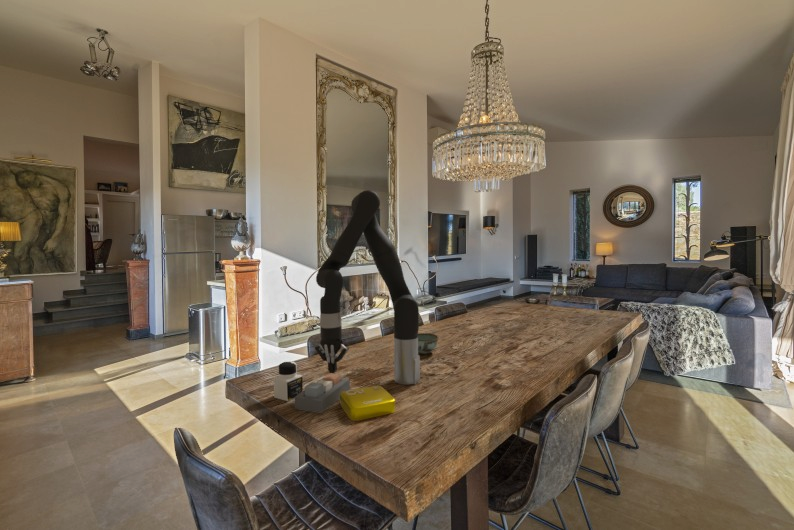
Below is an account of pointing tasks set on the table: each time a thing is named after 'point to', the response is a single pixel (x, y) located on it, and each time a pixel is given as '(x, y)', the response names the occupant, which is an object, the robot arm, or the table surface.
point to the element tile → (367, 402)
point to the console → (321, 398)
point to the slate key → (314, 390)
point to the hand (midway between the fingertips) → (332, 372)
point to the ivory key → (326, 384)
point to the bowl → (426, 343)
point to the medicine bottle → (287, 382)
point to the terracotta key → (332, 378)
